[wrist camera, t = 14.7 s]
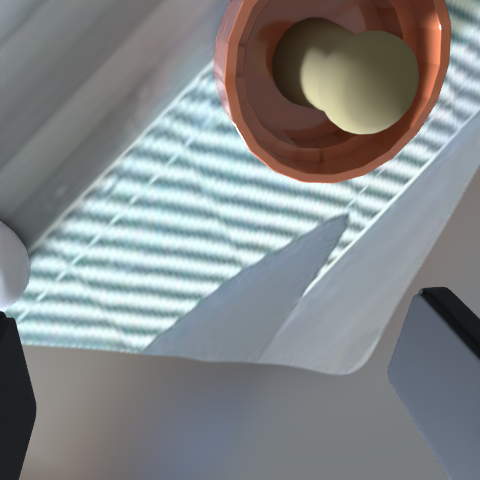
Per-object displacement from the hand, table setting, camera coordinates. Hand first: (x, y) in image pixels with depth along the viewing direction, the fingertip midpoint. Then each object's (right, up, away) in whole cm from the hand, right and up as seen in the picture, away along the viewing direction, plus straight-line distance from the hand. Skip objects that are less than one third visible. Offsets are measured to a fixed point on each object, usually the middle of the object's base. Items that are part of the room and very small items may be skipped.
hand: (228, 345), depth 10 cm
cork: (+6, +15, +20) cm, 26 cm away
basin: (+5, +16, +21) cm, 27 cm away
